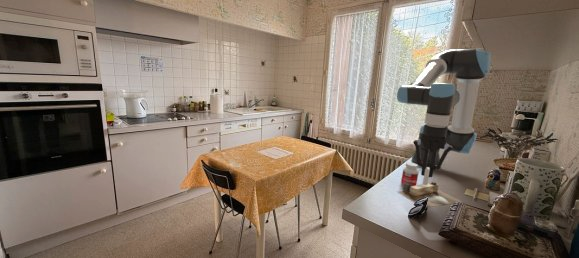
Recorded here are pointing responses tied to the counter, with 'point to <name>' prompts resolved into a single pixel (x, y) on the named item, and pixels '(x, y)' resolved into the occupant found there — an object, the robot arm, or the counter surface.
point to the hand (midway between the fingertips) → (425, 183)
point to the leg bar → (424, 189)
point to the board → (434, 197)
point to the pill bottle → (410, 174)
